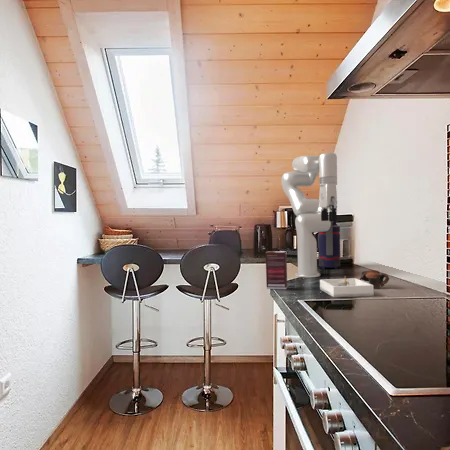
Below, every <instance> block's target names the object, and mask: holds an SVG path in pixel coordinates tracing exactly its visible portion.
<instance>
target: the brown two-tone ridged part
mask: <svg viewBox="0 0 450 450" xmlns="http://www.w3.org/2000/svg"><path fill="white" fill-rule="evenodd" d="M359 280H361V281H364V282H367V283H369V284H371V285H373V289H378V290H379V289H381V287H384V286H385V285H386V284H388V282H389V280H390V277H389V275H388V274H387V273H381V274H380V271H379V270H375V269H371V270H365V271H364V270H363V271H362V272H361V275H360V277H359Z"/></svg>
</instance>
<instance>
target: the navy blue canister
mask: <svg viewBox="0 0 450 450" xmlns="http://www.w3.org/2000/svg"><path fill="white" fill-rule="evenodd" d="M330 222H331V225H330V228H329V230H328V231H325V232H318V266H319V267H321V269H323V270H325V269H326V268H334V269H335V270H337V269H338V268H340V267H341V234H340V232H341V226H340V225H338V223H337V221H330Z"/></svg>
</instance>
